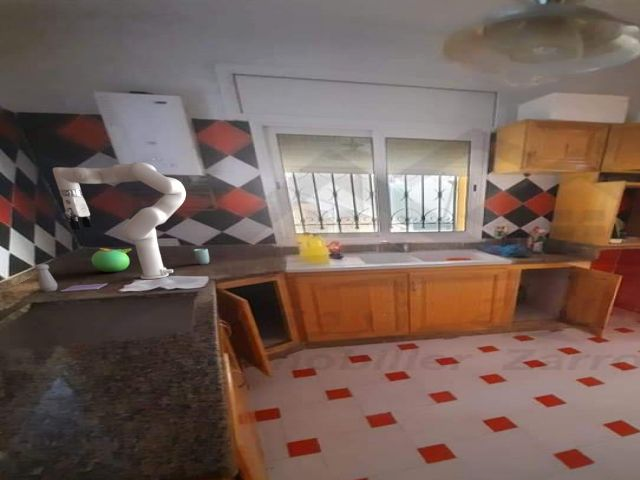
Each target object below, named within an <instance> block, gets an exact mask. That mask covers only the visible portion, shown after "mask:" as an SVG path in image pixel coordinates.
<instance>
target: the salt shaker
mask: <svg viewBox="0 0 640 480" xmlns="http://www.w3.org/2000/svg"><path fill="white" fill-rule="evenodd" d="M34 269H35V270H36V271H37V274H38V284H39V285H38V286H39V288H40V289H41V290H42V291H43V292H45V293H47V292H55V291H57V290H58V286H59V284H58V282H57V281H56V280H55V279H54V277H53V275H52V274H51V272H50V271H49V270H48V269H50V266H49V264H46V263H40V264H36V265H34Z"/></svg>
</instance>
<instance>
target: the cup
mask: <svg viewBox="0 0 640 480" xmlns="http://www.w3.org/2000/svg"><path fill="white" fill-rule="evenodd" d="M193 255H194V258H195V259H194V260H195V261H196V263H197V265H201V266H203V265H208V264H209V263H210V253H209V250H208V248H195V249H193Z"/></svg>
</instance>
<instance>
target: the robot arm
mask: <svg viewBox="0 0 640 480" xmlns="http://www.w3.org/2000/svg"><path fill="white" fill-rule="evenodd" d="M52 172H53V177H54V179H55V182H56V185H57V188H58V191H59V194H60V197H61V198H62V202H63V208H64V210H65V211H64V215H65V216H66V218H67V221H68V222H69V224H70V227H71V230H82V227H81V225H80V221H79V220H78V218H81V223H82V226H83V228H92V227H93V225H92V222H91V217H90V216H91V213H90V209H89V206H88V204H87V202H86V200H85V198H84V195H83V193H82V190H81V186H80V184H88V185H89V184H90V185H91V184H92V185H98V184H99V185H100V184H113V183H114V184H115V183H128V182H142V183H143V184H145V185H147V186H149V187H150V188H152V189H154V190H156V191H158V192H160V193H161V194H163V196H162V197H160V198H159V199H158V201H156V202H155V203H154V204H153V205H152V206H149V207H143V208H141V209H140V210H139V211H138V212H137V213H136V214H135V215H134V216H133V217H131V218H130V219H129V220H128V221H127V222H126V223H125V225H123V229H122V232H123V234H124V236H125V237H126V238H128V239H129V240H131V241H134V244H135V249H136V253H137V256H138V260H139V264H140V267H141V270H142V275H140V279H141V280H154V279H161V278H165V277H168V276H169V275H170V274H173V273H174V269H172V268H170V269H169V268H167V267H166V266H164V263H163V260H162V255H161V252H160V247H159V242H158V237H157V230H156V227H157V226H159V225H162V224H165V223H166V222H167V220H169V218H170V217H172V215H174V213H175V212H176V211H178V209H179V208H180V207H181V206H182V205H183V203H184V202H185V200H186V196H187V193H186V189H185V186H184V185H183V184H182V182H181V181H180V180H178V179H176V178H174V177H168V176H165V175H163V174H162V173H160V172H158V171H157V169H156V167H155V166H154V165H152V164H150V163H148V162H142V161H134V162H132V163H122V164H121V163H119V164H113V165H112V166H108V167H99V168H98V167H96V168H95V167H93V168H91V167H90V168H89V167H79V166H78V167H63V166H62V167H61V166H60V167H59V166H58V167H57V166H56V167H53V168H52Z"/></svg>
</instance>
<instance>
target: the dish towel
mask: <svg viewBox="0 0 640 480" xmlns="http://www.w3.org/2000/svg"><path fill="white" fill-rule="evenodd" d="M107 285H109V283H107V282H106V283H95V284H94V283H92V284H81V285H71V286H70V287H67V288H64V289H61V290H60V291H59V292H60V293H65V292H79V291H80V292H81V291H92V290H93V291H94V290H98V289H101V288H103V287H105V286H107Z"/></svg>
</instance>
